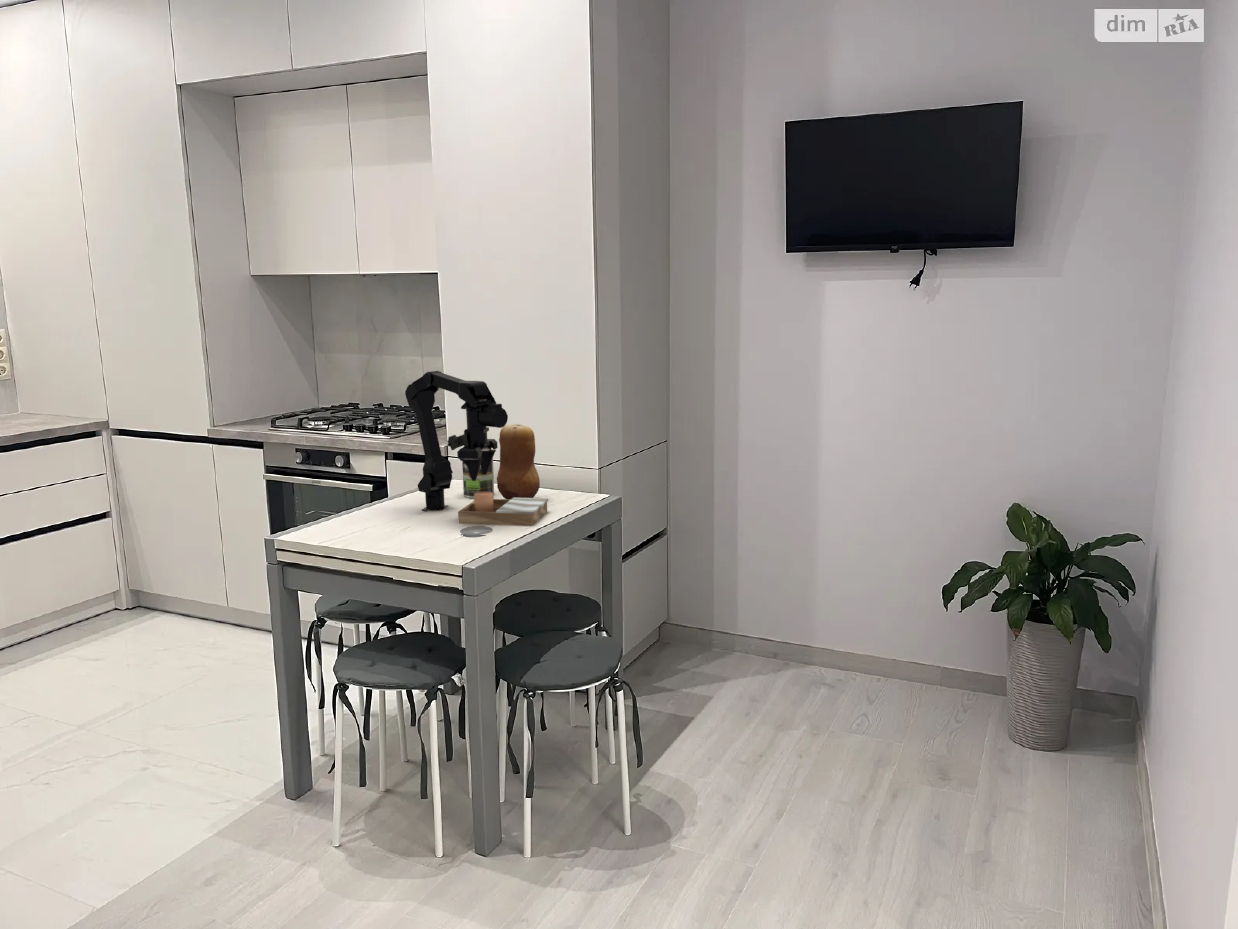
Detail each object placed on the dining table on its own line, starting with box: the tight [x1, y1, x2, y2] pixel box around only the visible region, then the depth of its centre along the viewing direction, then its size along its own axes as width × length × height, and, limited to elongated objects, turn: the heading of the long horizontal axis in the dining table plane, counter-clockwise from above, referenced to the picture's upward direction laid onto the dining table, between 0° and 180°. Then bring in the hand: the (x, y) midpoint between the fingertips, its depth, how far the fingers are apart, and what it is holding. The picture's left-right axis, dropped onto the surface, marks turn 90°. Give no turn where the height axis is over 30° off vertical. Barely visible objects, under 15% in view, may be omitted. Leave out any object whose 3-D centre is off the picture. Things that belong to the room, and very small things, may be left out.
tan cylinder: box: [473, 491, 494, 512], centre depth 281 cm, size 6×6×7 cm
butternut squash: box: [496, 423, 541, 499], centre depth 300 cm, size 14×13×25 cm
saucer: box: [459, 525, 493, 538], centre depth 266 cm, size 9×9×1 cm
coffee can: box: [461, 457, 495, 499], centre depth 312 cm, size 10×10×14 cm
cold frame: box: [457, 497, 550, 527], centre depth 281 cm, size 17×22×5 cm
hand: (479, 477), depth 279 cm, fingers open, 9 cm apart
